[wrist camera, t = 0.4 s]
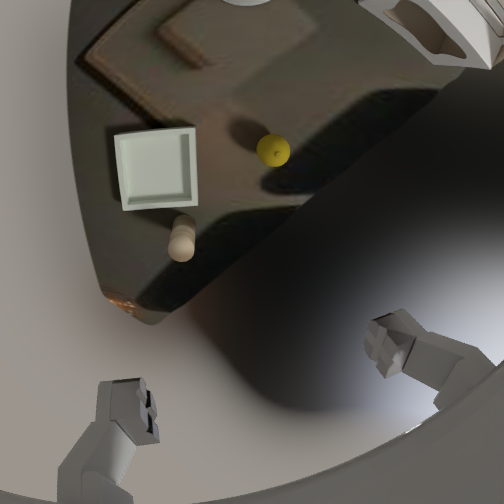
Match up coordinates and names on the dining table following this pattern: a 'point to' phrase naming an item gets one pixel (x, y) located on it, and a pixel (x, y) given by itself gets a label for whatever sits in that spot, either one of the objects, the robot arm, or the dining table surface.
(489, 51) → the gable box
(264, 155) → the lemon
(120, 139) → the tray
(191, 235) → the dowel
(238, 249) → the dining table surface
